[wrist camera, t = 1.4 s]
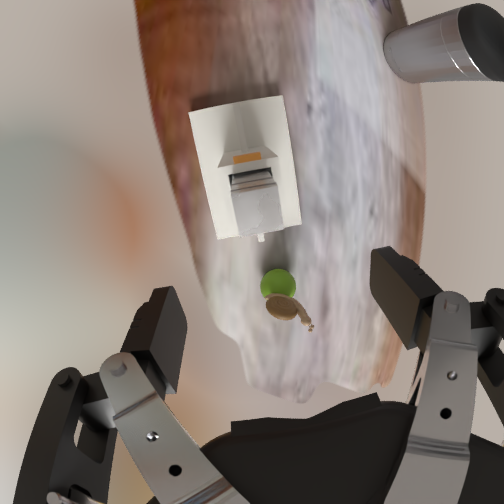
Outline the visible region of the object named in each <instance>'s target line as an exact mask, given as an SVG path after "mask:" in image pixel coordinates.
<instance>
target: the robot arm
mask: <svg viewBox="0 0 504 504" xmlns="http://www.w3.org/2000/svg"><path fill="white" fill-rule="evenodd" d="M384 54H385V57H386V60H387V62H388V64H389V66H390V68H391V69H392V70H393V71H394V73H395V74H397V75H398V76H399V77H400V78H402V79H403V80H405V81H407V82H410V83H424V82H441V81H479V80H480V81H503V82H504V18H503V17H502V16H501V15H500V14H499V13H498V12H497V11H496V10H494V9H493V8H491V7H489V6H487V5H485V4H480V3H476V4H471V5H467V6H464V7H460V8H456V9H453V10H450V11H447V12H444V13H441V14H438V15H435V16H433V17H429V18H427V19H424V20H421V21H419V22H416V23H414V24H411V25H408V26H406V27H403V28H401V29H398V30H396V31H394V32H392V33H390V34H389V35H388V36H387V37H386V39H385V42H384ZM370 289H371V293H372V295H373V297H374V299H375V300H376V302H377V303H378V305H379V306H380V308H381V309H382V311H383V312H384V314H385V315H386V317H387V318H388V320H389V322H390V323H391V325H392V326H393V328H394V329H395V331H396V333H397V334H398V336H399V337H400V339H401V341H402V342H403V344H404V345H405V347H406V349H407V350H409V349H412V348H415V347H418V348H419V349H420V352H419V355H418V359H417V363H416V367H415V372H414V375H413V379H412V383H411V387H410V391H409V394H408V397H407V400H406V403H402V402H396V401H380V399H379V397H378V395H377V392H376V393H372V394H369V395H366V396H363V397H359V398H356V399H352V400H349V401H345V402H342V403H340V404H338V405H336V406H334V407H332V408H330V409H328V410H326V411H324V412H322V413H319V414H317V415H315V416H313V417H310V418H307V419H289V418H270V417H267V418H259V419H251V420H243V421H232V422H231V432H228V433H225V434H223V435H220V436H218V437H216V438H215V439H213V440H211V441H209V442H208V443H206V444H205V445H204V446H203V447H201V448H200V447H199V446H198V444H197V443H196V442H195V441H194V440H193V438H192V437H191V436H190V435H189V434H188V432H187V431H186V430H185V429H184V427H183V426H182V425H181V424H180V422H179V421H178V419H177V418H176V417H175V415H174V414H173V413H172V411H171V410H170V409H169V407H168V406H167V404H166V403H165V402H164V400H165V394H176V392H177V386H178V379H179V373H180V368H181V362H182V356H183V350H184V345H185V339H186V334H187V321H186V317H185V314H184V311H183V309H182V307H181V304H180V301H179V299H178V296H177V293H176V291H175V289H174V287H173V286H168V287H162V288H156V289H154V290H153V292H152V295H151V297H150V300H149V302H145V303H144V304H143V305H142V306H141V307H140V308H139V309H138V310H137V312H136V314H135V316H134V319H133V322H132V323H131V326H130V329H129V331H128V333H127V336H126V338H125V340H124V343H123V345H122V348H121V350H120V353H117V354H114V355H112V356H110V357H109V358H107V359H106V360H105V361H104V363H103V364H102V365H101V367H100V371H99V372H97V373H94V374H90V375H87V376H82V375H81V373H80V372H79V371H78V370H77V369H76V368H73V367H68V368H65V369H63V370H61V371H60V372H58V373H57V374H56V375H55V376H54V378H53V379H52V381H51V384H50V386H49V388H48V391H47V393H46V396H45V398H44V401H43V403H42V406H41V408H40V411H39V414H38V416H37V419H36V422H35V424H34V427H33V430H32V433H31V436H30V439H29V442H28V445H27V449H26V452H25V455H24V459H23V463H22V466H21V470H20V474H19V478H18V482H17V486H16V491H15V496H14V501H13V504H107V500H108V490H109V481H110V475H111V468H112V461H113V454H114V449H115V442H116V437H117V431H118V432H119V434H120V436H121V438H122V440H123V442H124V444H125V446H126V448H127V449H128V452H129V453H130V455H131V457H132V459H133V461H134V462H135V464H136V466H137V468H138V469H139V471H140V473H141V474H142V476H143V478H144V479H145V481H146V483H147V484H148V486H149V487H150V489H151V490H152V492H153V493H154V495H155V496H154V497H153V498H152V499H151V500H150V501H149V502H148V503H147V504H504V440H503V442H502V444H501V446H500V445H498V444H495V443H493V442H490V441H488V440H486V439H484V438H481V437H479V436H476V435H474V434H472V433H471V426H472V420H473V413H474V404H475V395H476V383H477V377H478V378H479V380H480V382H481V384H482V385H483V387H484V389H485V391H486V393H487V394H488V396H489V398H490V400H491V402H492V404H493V406H494V408H495V410H496V412H497V414H498V416H499V418H500V420H501V422H502V424H503V426H504V354H503V353H502V351H501V350H500V348H499V347H498V346H499V344H500V342H501V340H502V338H503V339H504V289H500V288H492V289H490V290H488V292H487V293H486V296H485V299H484V301H482V302H470V303H469V301H468V300H467V299H466V298H465V297H464V296H463V295H461V294H459V293H457V292H453V291H443V290H442V289H441V288H440V287H439V286H438V285H437V284H436V283H435V282H434V281H433V280H432V279H431V278H430V277H429V276H428V275H427V274H425V272H424V271H423V270H422V269H420V267H419V266H418V265H417V264H416V263H415V262H414V261H413V260H411V259H409V258H407V257H405V256H403V255H402V256H400V255H399V254H398V253H397V252H396V251H395V250H394V249H393V248H392V247H390V246H387V247H382V248H377V249H373V250H372V252H371V265H370ZM78 420H80V421H81V422H82V423H83V425H82V429H81V432H80V436H79V440H78V444H77V447H76V446H75V443H74V433H75V430H76V426H77V423H78Z"/></svg>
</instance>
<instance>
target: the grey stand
mask: <svg viewBox="0 0 504 504" xmlns="http://www.w3.org/2000/svg"><path fill="white" fill-rule="evenodd" d="M189 117H190V121H191V126H192V131H193V135H194V140H195V145H196V149H197V154H198V158H199V163H200V167H201V172H202V176H203V180H204V185H205V189H206V193H207V197H208V202H209V206H210V210H211V214H212V218H213V222H214V226H215V231H216V235H217V239H224V238H229V237H234V236H239V231H238V227H237V222H236V217H235V213H234V208H233V203H232V198H231V184H232V174H235V173H240V172H245V171H251V170H256V169H262V168H267V169H268V171H269V173H270V174H271V176H272V177H273V179H274V181H275V182H276V184H277V186H278V191H279V197H280V204H281V211H282V217H283V224H284V227H289V226H295V225H301V215H300V207H299V199H298V191H297V184H296V176H295V169H294V162H293V155H292V149H291V142H290V136H289V130H288V124H287V118H286V112H285V107H284V101H283V95H281V96H273V97H266V98H259V99H252V100H246V101H241V102H235V103H230V104H225V105H220V106H215V107H210V108H206V109H201V110H197V111H193V112H189ZM257 236H258V242H263V241H265V239H264V233H262V234H257Z"/></svg>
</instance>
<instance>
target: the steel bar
mask: <svg viewBox="0 0 504 504" xmlns="http://www.w3.org/2000/svg"><path fill="white" fill-rule="evenodd" d="M231 198H232V203H233V208H234V213H235V217H236V222H237V227H238V231H239V236H240V237H245V236H251V235H256V234H262V233H267V232H273V231H278V230H284V224H283V217H282V211H281V204H280V197H279V191H278V186H277V184H276V182H275V181H274V179H273V177H272V176H271V174H270V173H269V171H268V169H267V168H262V169H256V170H251V171H245V172H240V173H235V174H232V184H231Z"/></svg>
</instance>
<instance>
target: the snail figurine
mask: <svg viewBox="0 0 504 504" xmlns="http://www.w3.org/2000/svg"><path fill="white" fill-rule="evenodd" d="M260 288H261V293H262V295H263V297H264V298H265V299H266V300H267V302H266V308H267V310H268V312H269V313H270V314H271V315H272V316H274V317H275V318H278V319H281V320H291V319H293V318H294V317H295V316H296V315H297V314H298V315H299V317H300V318H301V323H302V324H303V325H305V326H309V325H310V324H312V323H311V318H310V317H309V316H308V315H307V313H306V311H305V309H304V308H303V306H302V305H301V304H300V303H299V302H298V301H297V300H295V299H294V298H292V297H293V295H294V293H295V290H296V283H295V280H294V278H293V276H292V275H291V274H290V273H289V272H288V271H286V270H283V269H273V270H271V271H269V272H267V273H266V274H265V275H264V277H263V278H262V281H261V285H260ZM309 328H311V329H309V330H308V331H309V332H310V333H311V332H312V329H313V328H314V325H311V326H309Z"/></svg>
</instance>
